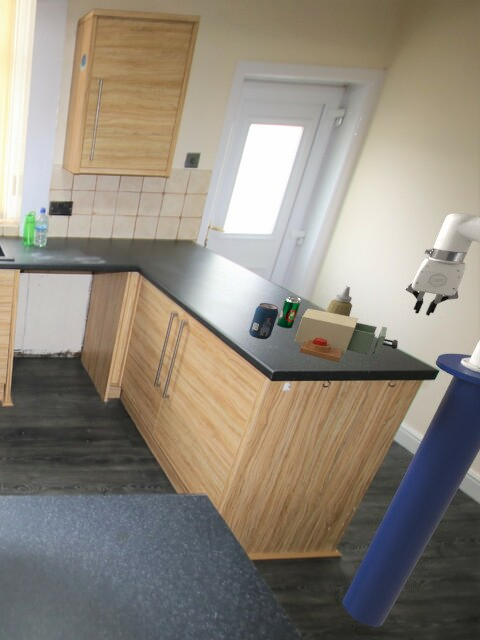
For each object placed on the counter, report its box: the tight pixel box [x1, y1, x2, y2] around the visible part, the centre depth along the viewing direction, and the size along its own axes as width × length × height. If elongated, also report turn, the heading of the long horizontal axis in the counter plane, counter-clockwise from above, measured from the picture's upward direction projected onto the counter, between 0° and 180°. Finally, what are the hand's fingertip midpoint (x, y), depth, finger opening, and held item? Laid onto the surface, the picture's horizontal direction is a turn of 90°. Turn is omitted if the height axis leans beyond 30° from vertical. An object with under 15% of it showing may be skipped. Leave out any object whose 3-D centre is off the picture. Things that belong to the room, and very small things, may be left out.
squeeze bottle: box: [325, 286, 353, 317], centre depth 175 cm, size 8×8×18 cm
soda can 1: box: [248, 302, 279, 340], centre depth 170 cm, size 7×7×12 cm
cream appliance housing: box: [293, 308, 359, 355], centre depth 167 cm, size 15×13×10 cm
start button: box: [313, 338, 327, 346], centre depth 159 cm, size 4×4×2 cm
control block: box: [298, 340, 343, 363], centre depth 159 cm, size 11×8×4 cm
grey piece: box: [346, 322, 399, 359], centre depth 160 cm, size 18×12×8 cm, turn 49°
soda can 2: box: [276, 296, 302, 329], centre depth 179 cm, size 5×5×12 cm
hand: (422, 313), depth 149 cm, fingers closed
